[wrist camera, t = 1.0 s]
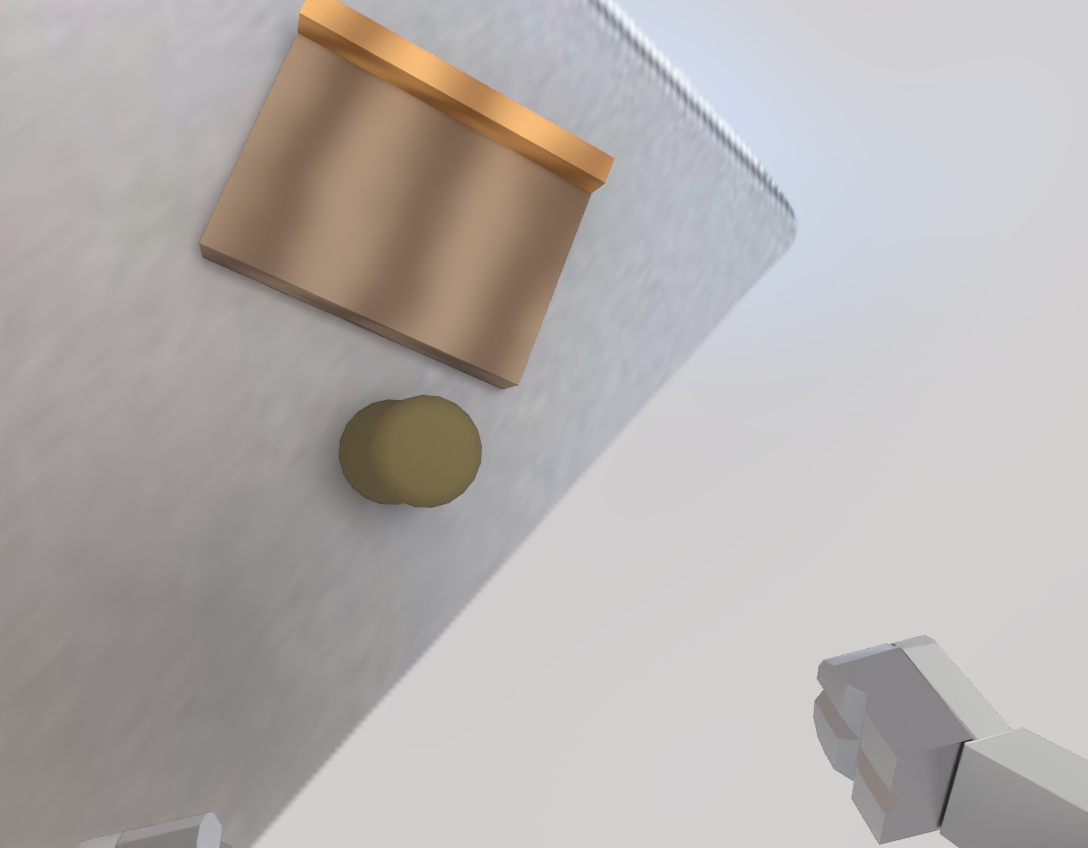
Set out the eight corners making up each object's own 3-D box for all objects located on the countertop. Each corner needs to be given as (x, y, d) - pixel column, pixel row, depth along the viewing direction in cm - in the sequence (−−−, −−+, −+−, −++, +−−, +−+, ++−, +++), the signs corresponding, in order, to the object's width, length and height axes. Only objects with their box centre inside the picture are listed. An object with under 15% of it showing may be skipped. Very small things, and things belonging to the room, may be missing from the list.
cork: (439, 395, 46) (492, 378, 36) (449, 498, 46) (505, 510, 36) (334, 403, 44) (358, 388, 34) (343, 510, 44) (371, 528, 34)
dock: (203, 257, 42) (196, 232, 37) (306, 35, 44) (312, -15, 40) (502, 389, 48) (529, 381, 43) (580, 186, 50) (614, 158, 45)
